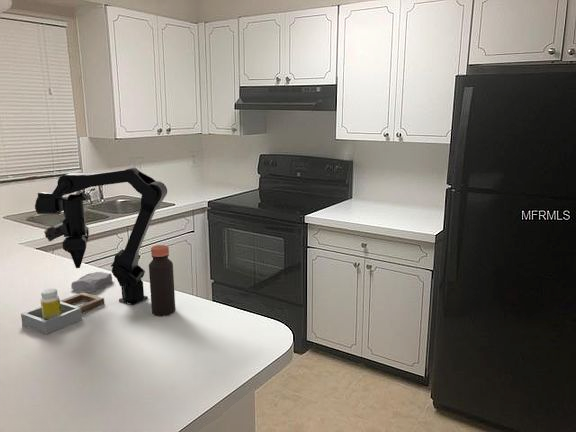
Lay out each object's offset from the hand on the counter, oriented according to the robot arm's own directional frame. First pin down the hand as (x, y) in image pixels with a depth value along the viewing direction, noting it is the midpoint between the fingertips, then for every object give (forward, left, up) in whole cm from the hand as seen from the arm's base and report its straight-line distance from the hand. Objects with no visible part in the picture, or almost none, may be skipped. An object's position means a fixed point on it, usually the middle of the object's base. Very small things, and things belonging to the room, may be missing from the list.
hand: (79, 263), depth 148 cm
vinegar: (-29, -6, -12) cm, 32 cm away
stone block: (+8, -10, -12) cm, 18 cm away
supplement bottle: (-7, +15, -11) cm, 20 cm away
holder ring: (-4, +4, -12) cm, 13 cm away
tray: (-7, +15, -12) cm, 20 cm away
